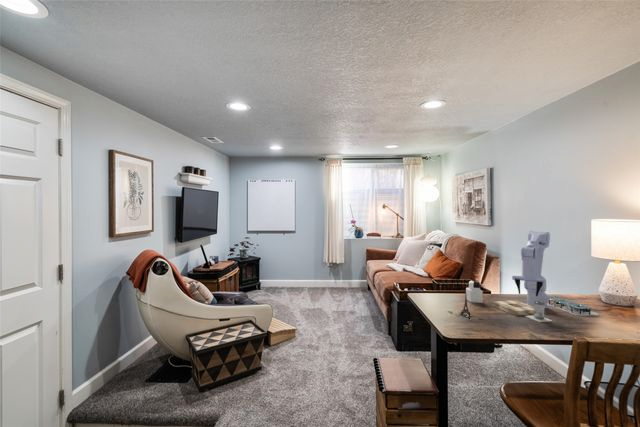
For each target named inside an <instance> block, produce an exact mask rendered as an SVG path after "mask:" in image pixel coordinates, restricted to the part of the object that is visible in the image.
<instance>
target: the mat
mask: <svg viewBox="0 0 640 427" xmlns="http://www.w3.org/2000/svg"><path fill="white" fill-rule="evenodd" d="M524 317H525V318H527V319H529V320H530V319H531V320H532V321H535V322H537V323H548V322H553V320H552V319H549V318H547V317H544V320H540V319H536V318H534V314H533V315H524Z"/></svg>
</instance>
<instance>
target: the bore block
mask: <svg viewBox="0 0 640 427" xmlns="http://www.w3.org/2000/svg"><path fill="white" fill-rule="evenodd" d="M491 306H492V307H494V308H496V309H498V310H501V311H504V312H506V313H508V314H510V315H513V316H530V315H534V307H533V306H530V305H527V303H524V302H521V301H519V300H515V299H514V300H500V301H496V300H495V301H492V302H491Z"/></svg>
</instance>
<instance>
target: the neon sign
mask: <svg viewBox="0 0 640 427" xmlns="http://www.w3.org/2000/svg"><path fill="white" fill-rule="evenodd" d="M551 301H553V303H554V304H553V305H551V304H550V303H551ZM572 301H573V300H567V299H566V298H564V299H563V298H562V297H550V298H548V302H547V307H551V308H552V307H553V308H555V309H557V308H558V310H562V311H564V312H566V313H569V314H573V315H575V316H582V317H587V316H599V315H600V314H599V311H600V312H601V311H607V310H608V311H609V310H611V308H607V309H601V310H600V309H597V311H598V312H596V311H595V309H594V308H593V309H592V306H589V305H586V304H584V303H583V304H582V303H578V302H577V301H573V302H572ZM555 303H556V305H557V304H561V305H558V307H554V305H555ZM564 304H565V305H564ZM566 304H567V305H566Z"/></svg>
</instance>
